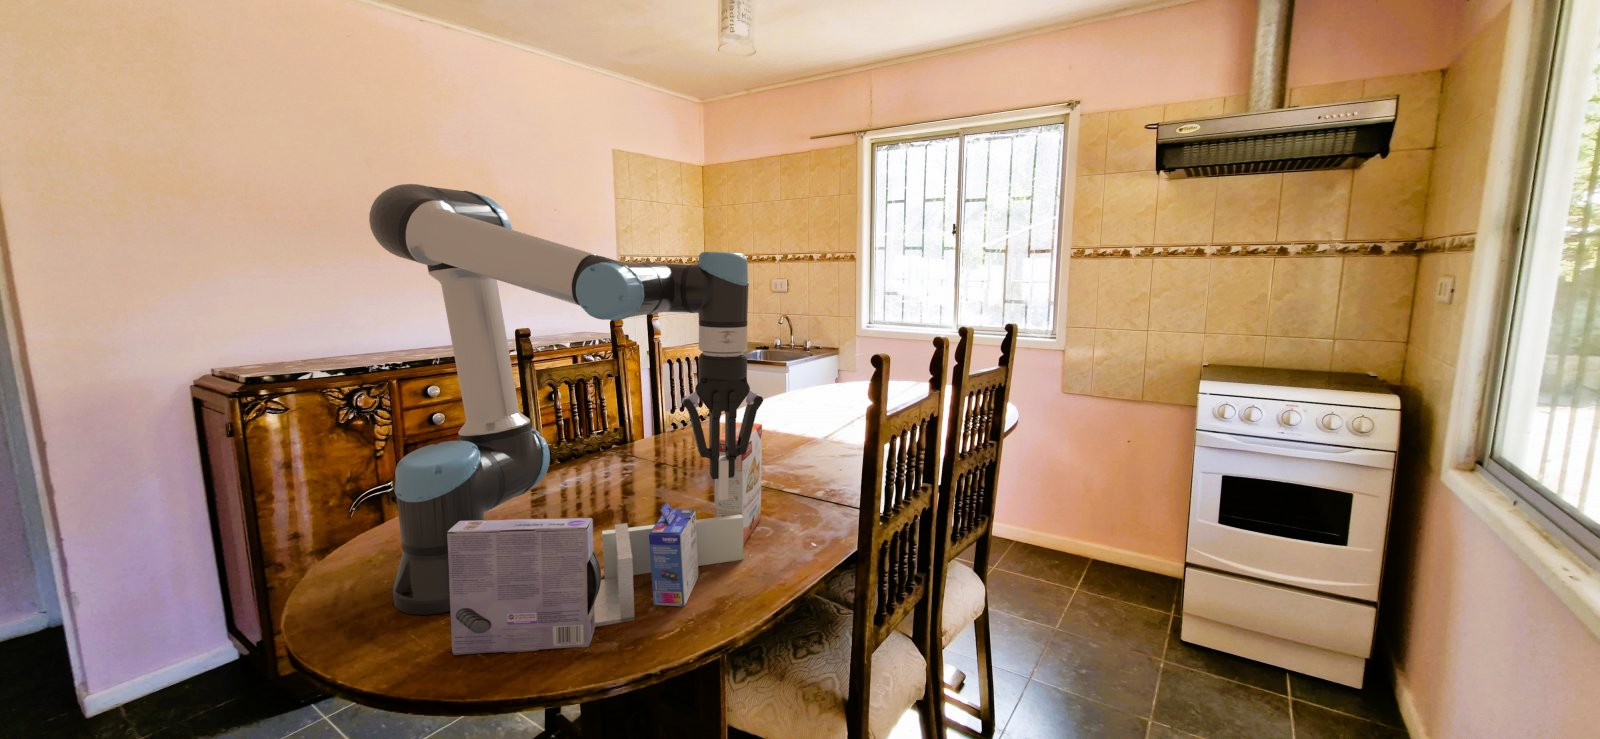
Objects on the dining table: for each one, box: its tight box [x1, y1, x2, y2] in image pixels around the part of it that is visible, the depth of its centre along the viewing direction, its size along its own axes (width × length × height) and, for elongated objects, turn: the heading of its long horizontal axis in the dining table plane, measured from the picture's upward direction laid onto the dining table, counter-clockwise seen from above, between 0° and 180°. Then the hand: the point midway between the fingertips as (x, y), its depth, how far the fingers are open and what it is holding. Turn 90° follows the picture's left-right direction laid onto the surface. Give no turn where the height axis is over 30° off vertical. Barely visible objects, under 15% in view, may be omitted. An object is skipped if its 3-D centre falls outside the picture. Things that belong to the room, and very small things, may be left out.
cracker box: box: [714, 421, 763, 546], centre depth 123 cm, size 14×6×21 cm, turn 168°
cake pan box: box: [447, 517, 602, 656], centre depth 86 cm, size 19×5×18 cm, turn 98°
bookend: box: [594, 522, 636, 628], centre depth 97 cm, size 8×13×10 cm, turn 18°
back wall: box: [601, 515, 744, 580], centre depth 109 cm, size 24×2×8 cm, turn 108°
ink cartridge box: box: [649, 502, 699, 607], centre depth 101 cm, size 10×6×14 cm, turn 176°
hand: (722, 496), depth 101 cm, fingers closed
